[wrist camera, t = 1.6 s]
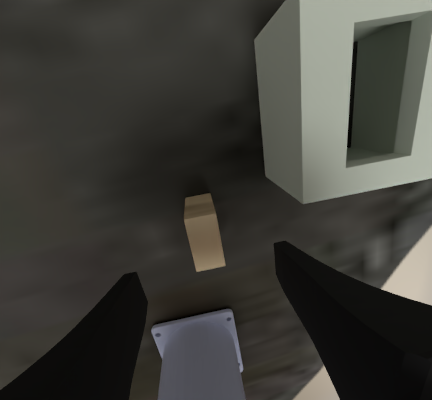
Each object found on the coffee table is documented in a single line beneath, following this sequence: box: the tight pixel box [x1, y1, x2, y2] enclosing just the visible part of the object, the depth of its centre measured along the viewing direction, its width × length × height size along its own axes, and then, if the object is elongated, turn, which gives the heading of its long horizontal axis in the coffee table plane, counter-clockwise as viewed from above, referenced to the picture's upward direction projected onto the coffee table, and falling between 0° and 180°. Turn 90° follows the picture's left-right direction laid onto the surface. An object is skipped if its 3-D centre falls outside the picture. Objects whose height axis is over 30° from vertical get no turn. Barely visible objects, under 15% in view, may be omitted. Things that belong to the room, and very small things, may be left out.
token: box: [184, 193, 225, 272], centre depth 16 cm, size 4×2×4 cm, turn 9°
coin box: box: [254, 0, 432, 204], centre depth 12 cm, size 9×8×6 cm
